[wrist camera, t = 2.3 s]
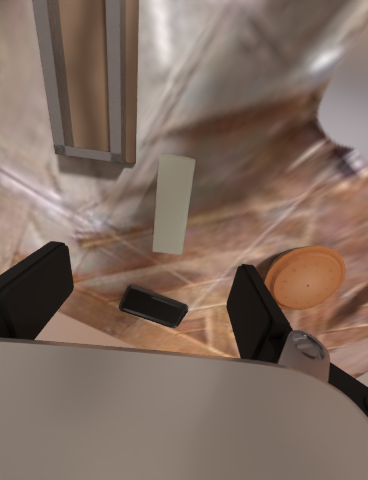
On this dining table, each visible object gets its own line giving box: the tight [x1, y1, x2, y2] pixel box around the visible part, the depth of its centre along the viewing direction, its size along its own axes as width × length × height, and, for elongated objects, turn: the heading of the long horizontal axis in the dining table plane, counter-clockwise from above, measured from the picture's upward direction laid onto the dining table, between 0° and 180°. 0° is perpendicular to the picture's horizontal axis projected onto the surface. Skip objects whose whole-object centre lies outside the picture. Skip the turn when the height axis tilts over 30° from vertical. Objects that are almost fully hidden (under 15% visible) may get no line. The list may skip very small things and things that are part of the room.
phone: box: [119, 285, 188, 328], centre depth 44 cm, size 8×1×15 cm
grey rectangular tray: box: [32, 0, 139, 163], centre depth 24 cm, size 12×24×4 cm, turn 172°
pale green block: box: [152, 154, 196, 255], centre depth 28 cm, size 4×12×11 cm, turn 172°
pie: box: [264, 245, 346, 310], centre depth 38 cm, size 15×16×5 cm
